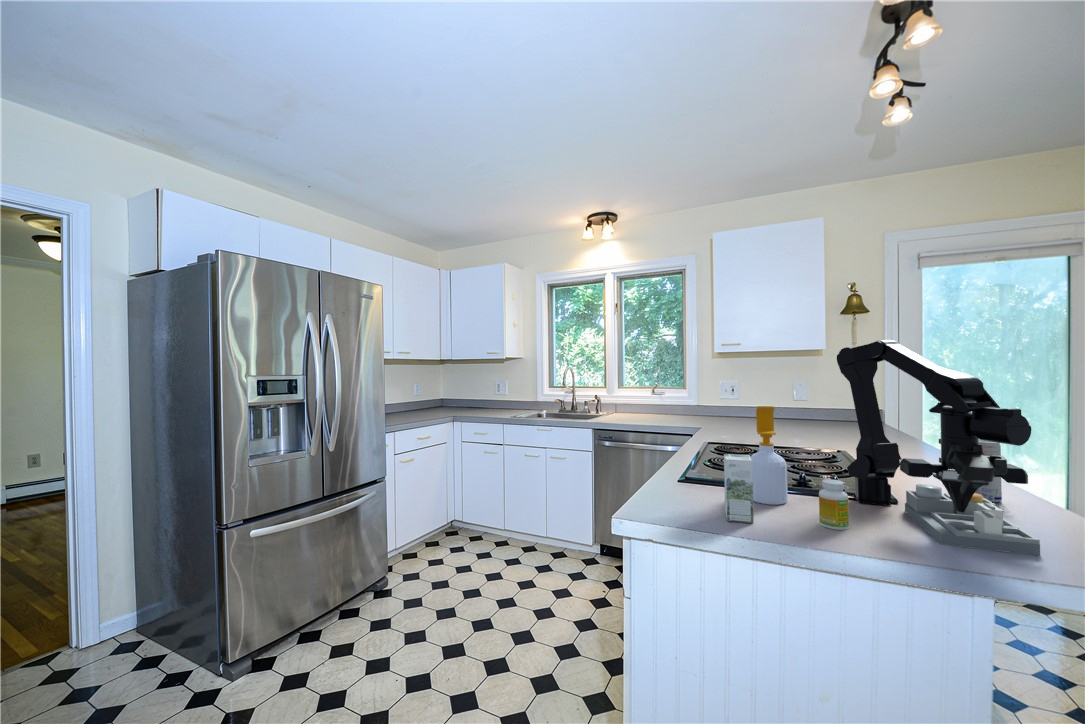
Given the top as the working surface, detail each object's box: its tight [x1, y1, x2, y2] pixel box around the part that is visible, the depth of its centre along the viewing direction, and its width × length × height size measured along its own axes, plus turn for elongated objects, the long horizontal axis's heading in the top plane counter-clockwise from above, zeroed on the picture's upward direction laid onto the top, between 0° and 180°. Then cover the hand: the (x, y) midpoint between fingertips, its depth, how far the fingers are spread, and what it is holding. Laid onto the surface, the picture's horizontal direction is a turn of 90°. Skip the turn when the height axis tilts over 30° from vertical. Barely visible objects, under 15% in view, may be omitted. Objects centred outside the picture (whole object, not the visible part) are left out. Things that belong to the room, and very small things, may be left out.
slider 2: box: [974, 510, 1002, 535], centre depth 86 cm, size 2×4×4 cm, turn 157°
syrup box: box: [723, 453, 754, 524], centre depth 103 cm, size 6×6×14 cm
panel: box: [904, 489, 1041, 556], centre depth 92 cm, size 14×20×5 cm
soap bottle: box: [750, 405, 789, 506], centre depth 115 cm, size 9×9×25 cm
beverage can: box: [975, 439, 1003, 504], centre depth 111 cm, size 6×6×15 cm
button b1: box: [915, 483, 943, 500], centre depth 100 cm, size 4×4×3 cm
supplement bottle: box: [818, 478, 850, 531], centre depth 97 cm, size 5×5×10 cm
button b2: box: [970, 493, 983, 503], centre depth 97 cm, size 4×4×3 cm
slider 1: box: [976, 502, 1004, 526], centre depth 90 cm, size 2×4×4 cm, turn 157°
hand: (960, 511), depth 92 cm, fingers closed
